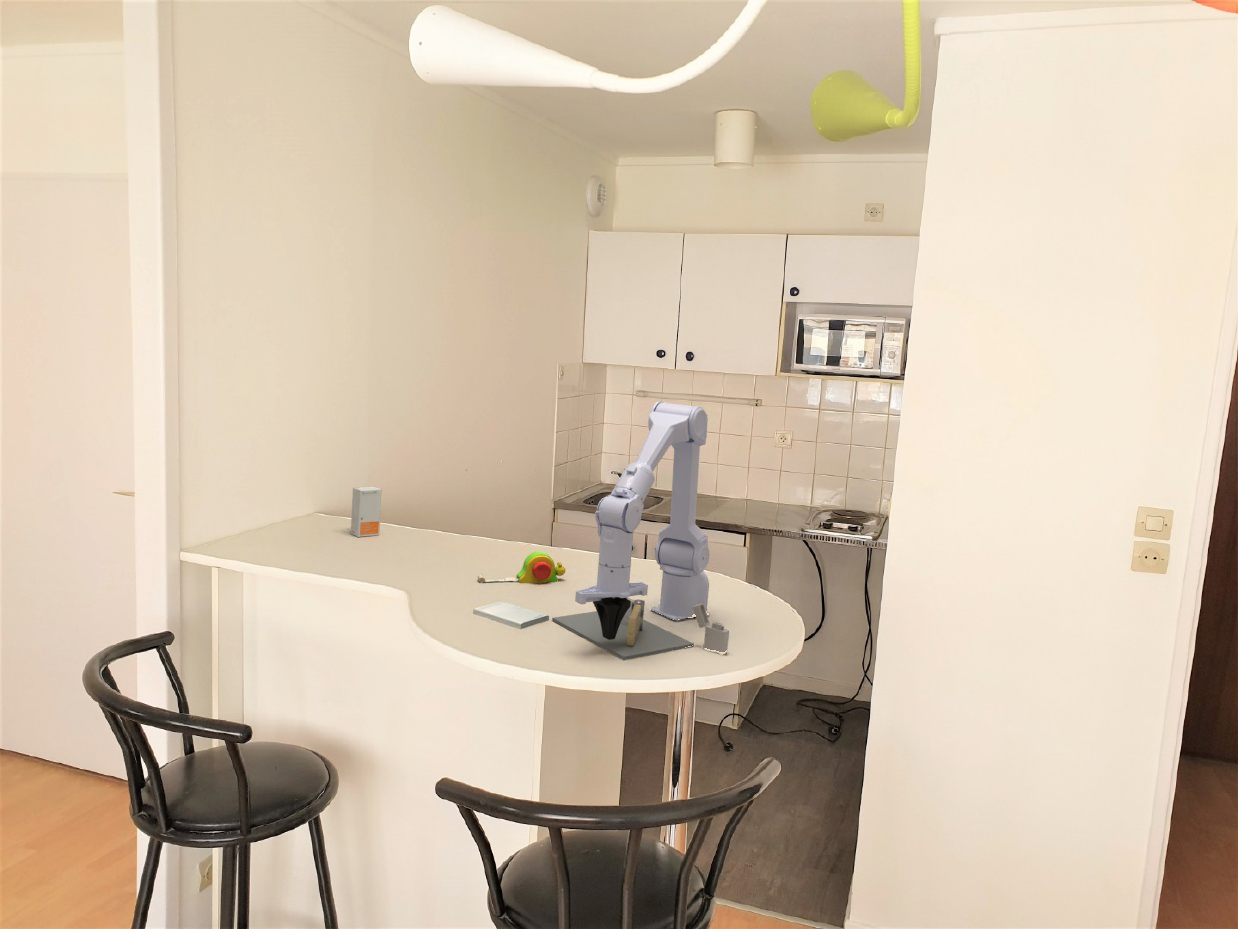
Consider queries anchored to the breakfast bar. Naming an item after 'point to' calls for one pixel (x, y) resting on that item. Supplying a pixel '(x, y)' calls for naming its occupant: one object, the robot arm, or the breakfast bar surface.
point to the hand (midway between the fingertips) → (608, 637)
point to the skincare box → (366, 511)
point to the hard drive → (511, 614)
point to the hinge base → (623, 635)
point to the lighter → (711, 630)
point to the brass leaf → (635, 621)
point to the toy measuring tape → (535, 570)
